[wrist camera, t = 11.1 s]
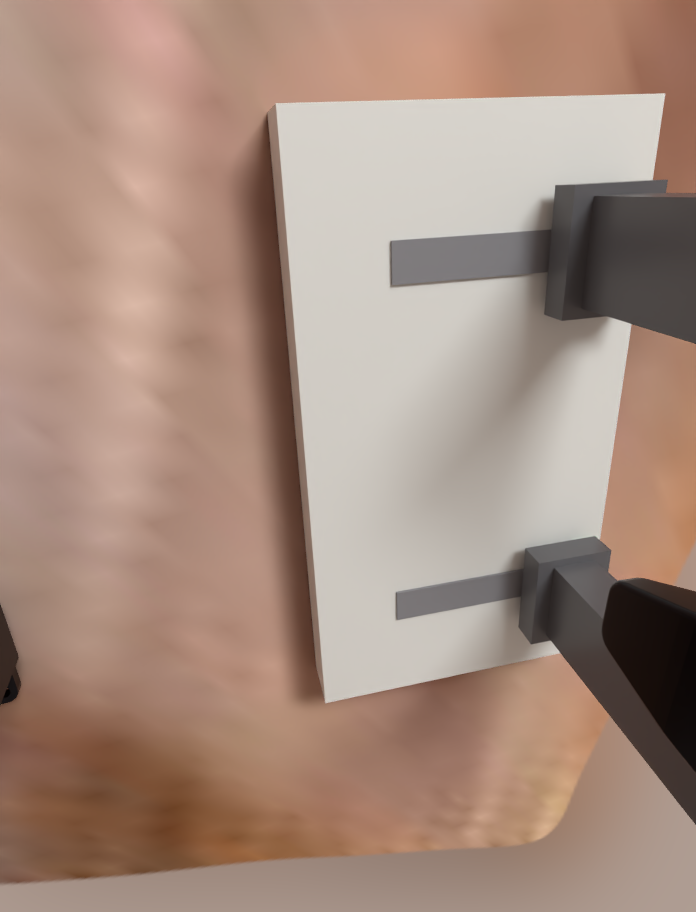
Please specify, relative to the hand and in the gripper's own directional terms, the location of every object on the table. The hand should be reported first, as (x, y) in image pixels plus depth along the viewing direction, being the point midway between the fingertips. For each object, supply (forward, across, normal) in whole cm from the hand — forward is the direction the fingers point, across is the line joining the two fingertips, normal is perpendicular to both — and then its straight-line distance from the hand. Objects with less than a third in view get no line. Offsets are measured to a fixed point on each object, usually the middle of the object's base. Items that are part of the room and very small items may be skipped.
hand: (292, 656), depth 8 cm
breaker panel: (+13, +7, -3) cm, 15 cm away
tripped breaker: (+11, +11, -8) cm, 18 cm away
